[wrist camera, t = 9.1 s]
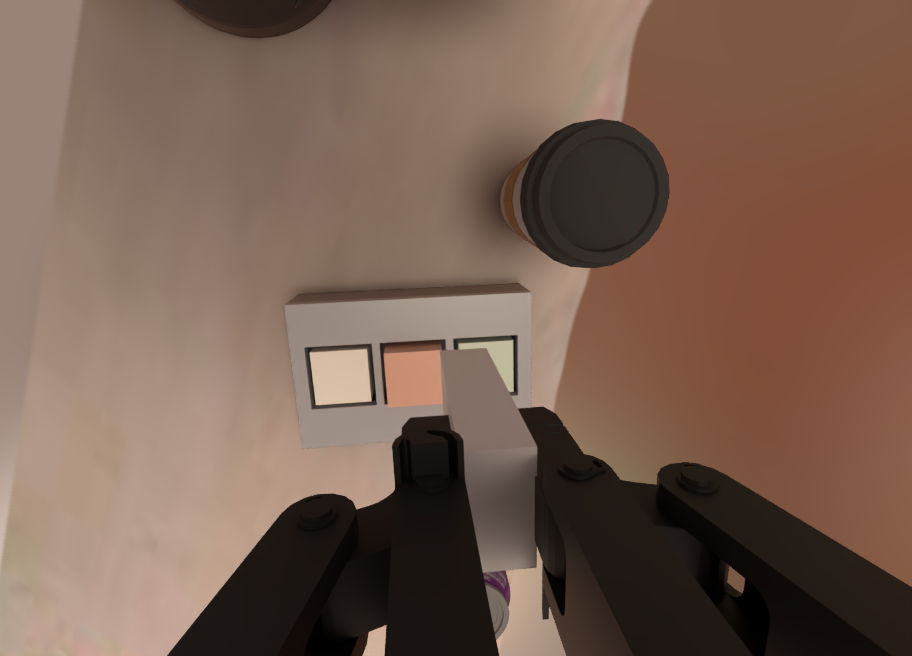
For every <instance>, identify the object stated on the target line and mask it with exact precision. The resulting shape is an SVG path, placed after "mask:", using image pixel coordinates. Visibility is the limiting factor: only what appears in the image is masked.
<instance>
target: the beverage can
mask: <svg viewBox="0 0 912 656" xmlns="http://www.w3.org/2000/svg"><path fill="white" fill-rule="evenodd" d="M483 575H484V580H485V586H486V591H487V596H488V601H489V606H490V611H491V617H492V622H493V627H494V632H495V637H496V639H497V638H498V637H499V636H500V635H501V634H502V633H503V631H504V630H505V628H506V626H507V623H508V619H509V609H508V606H509V602H510V587H509V583H508V579H507V575H506V571H495V572H485V573H483Z"/></svg>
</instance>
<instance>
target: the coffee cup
mask: <svg viewBox="0 0 912 656" xmlns="http://www.w3.org/2000/svg"><path fill="white" fill-rule="evenodd" d="M668 199H669V175H668V172H667V169H666V166H665V163H664V160H663V158H662V156H661V155H660V153H659V151H658V150H657V148H656V147H655V145H654V144H653V143H652V142H651V141H650V140H649V139H647V138H646V137H645V136H644V135H643V134H642V133H640V132H639V131H637V130H636V129H635V128H632V127H630V126H628V125H626V124H624V123H621V122H619V121H612V120H604V119H597V120H591V121H585V122H579V123H573V124H571V125H569V126H567V127H565V128H563V129H561V130H559V131H557V132H555V133H554V134H553V135H552V136H550V137H549V138H548V139H547V140H546V141H545V142H543V143H542V144H541V145H540V146H539V148H538V149H537V150H536V151H535V152H533V153H532V154H531V155H530V156H529V157H527V158H526V159H525V160H524V161H522V162H521V163H520V164H519V165H518V166H517V167H516V168H515V169H514V170H513V171H512V172H511V173H510V174H509V176H508V177H507V179H506V180H505V182H504V184H503V187H502V190H501V195H500V206H501V212H502V215H503V217H504V220H505V222H506V223H507V224H508V225H509V227H510V228H511V229H512V230H513V231H515V232H516V233H517V234H518V235H520V236H521V237H522V238H524V239H525V240H526V241H528V242H530V243H531V244H533V245H534V246H536V247H537V248H539V249H540V250H541V251H542V252H544V253H545V254H546V255H548V256H549V257H550V258H552V259H553V260H554V261H557V262H560V263H562V264H565V265H568V266H570V267H582V268H598V267H603V266H609V265H613V264H615V263H617V262H620V261H622V260H624V259H626V258H628V257H630V256H631V255H632V254H633V253H635V252H636V251H637V250H638V249H640V248H641V247H642V246H643V245H645V244H646V243H647V242H648V241H649V240H650V238H651V237H652V236H653V234H654V233H655V232H656V231H657V229H658V228H659V226H660V224H661V221H662V219H663V217H664V215H665V212H666V208H667V204H668Z"/></svg>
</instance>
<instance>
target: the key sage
mask: <svg viewBox="0 0 912 656" xmlns="http://www.w3.org/2000/svg"><path fill="white" fill-rule="evenodd" d="M455 340H456V350H460V349H476V348H487V350H488V352H489V354H490V356H491V358H492V360H493V362H494V364H495V366H496V368H497V370H498V372H499V374H500V375H501V377H502V379H503V381H504V383H505V385H506V387H507V389H508V391H509V392H514V384H513V339H512V338H511V337H510V335H507V336H490V337H474V338H457V339H455Z"/></svg>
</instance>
